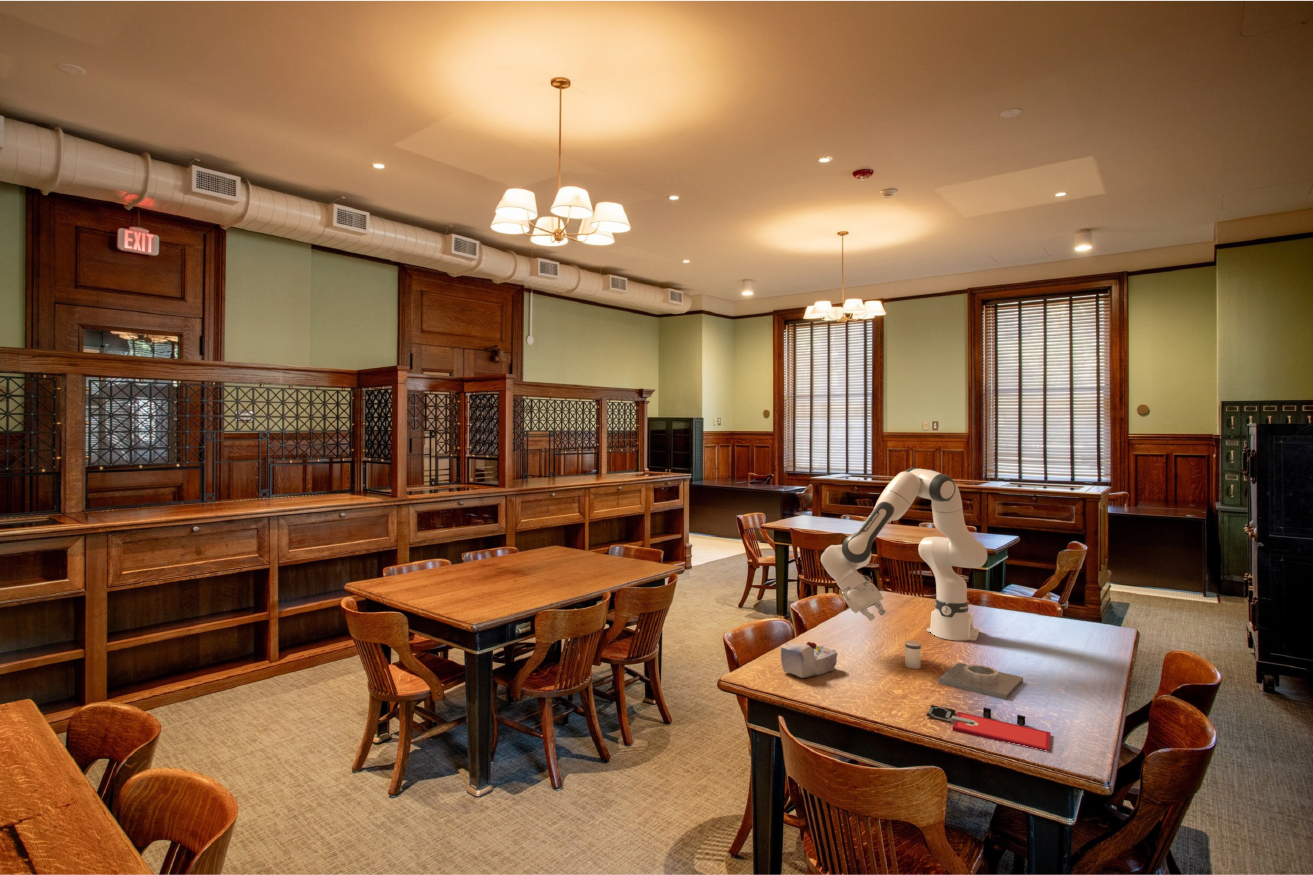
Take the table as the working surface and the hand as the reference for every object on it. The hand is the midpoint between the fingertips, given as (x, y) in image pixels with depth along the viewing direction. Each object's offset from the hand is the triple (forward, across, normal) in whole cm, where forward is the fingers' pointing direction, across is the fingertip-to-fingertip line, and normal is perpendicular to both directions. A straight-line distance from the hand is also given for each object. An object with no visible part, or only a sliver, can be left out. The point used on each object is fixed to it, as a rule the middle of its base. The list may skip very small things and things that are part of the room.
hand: (878, 616), depth 236 cm
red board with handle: (+43, -34, -21) cm, 59 cm away
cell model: (+3, -29, +19) cm, 35 cm away
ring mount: (+35, 0, -14) cm, 37 cm away
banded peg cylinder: (+19, 0, +2) cm, 19 cm away
